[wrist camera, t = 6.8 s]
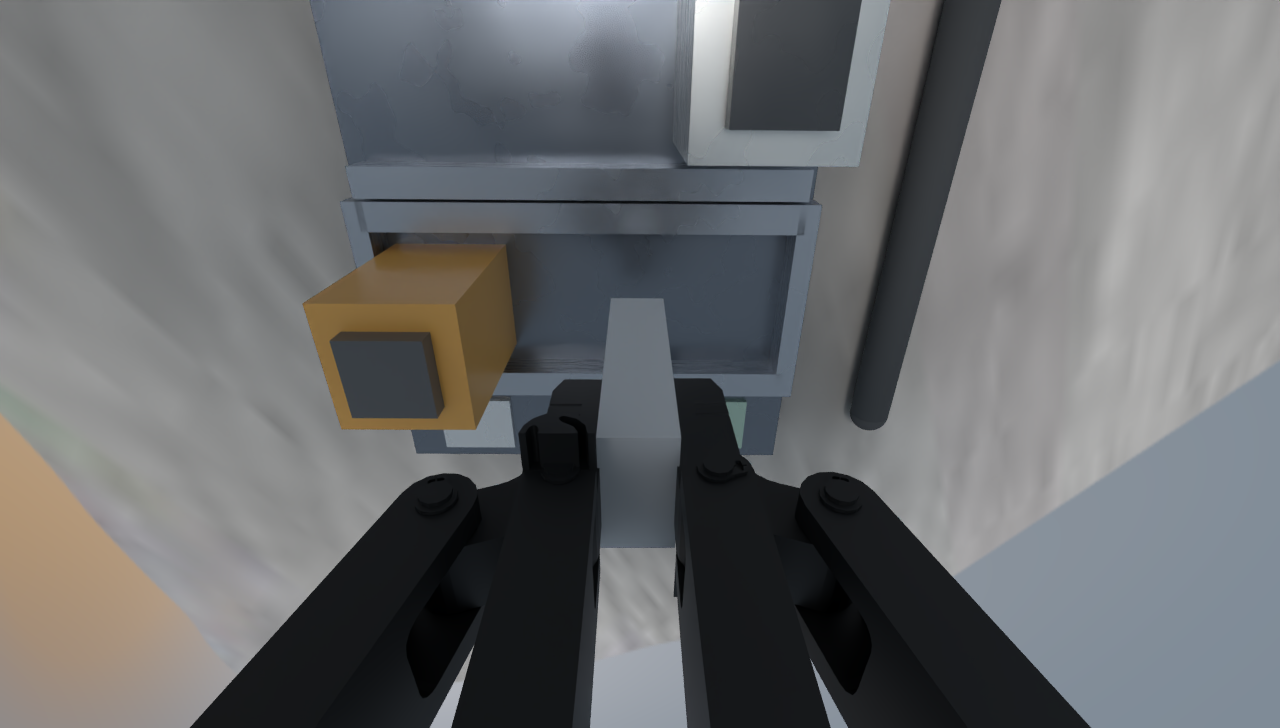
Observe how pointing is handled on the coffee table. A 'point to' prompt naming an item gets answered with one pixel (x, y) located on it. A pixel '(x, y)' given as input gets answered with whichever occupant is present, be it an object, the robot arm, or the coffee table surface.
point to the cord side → (922, 199)
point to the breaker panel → (608, 171)
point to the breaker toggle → (416, 336)
